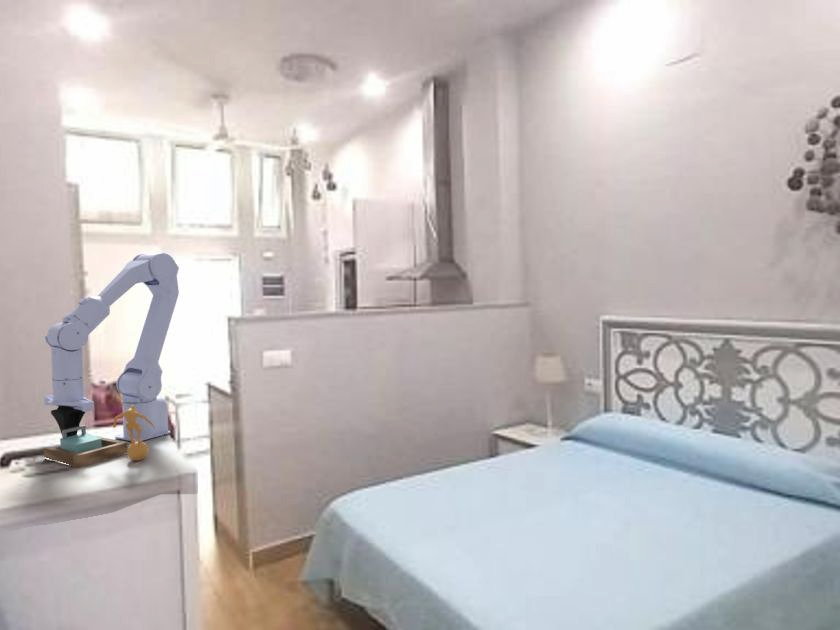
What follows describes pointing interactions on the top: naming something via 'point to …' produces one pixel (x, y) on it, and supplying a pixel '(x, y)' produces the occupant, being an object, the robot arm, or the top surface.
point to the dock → (88, 453)
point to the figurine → (137, 448)
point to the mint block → (79, 441)
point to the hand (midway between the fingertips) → (69, 440)
